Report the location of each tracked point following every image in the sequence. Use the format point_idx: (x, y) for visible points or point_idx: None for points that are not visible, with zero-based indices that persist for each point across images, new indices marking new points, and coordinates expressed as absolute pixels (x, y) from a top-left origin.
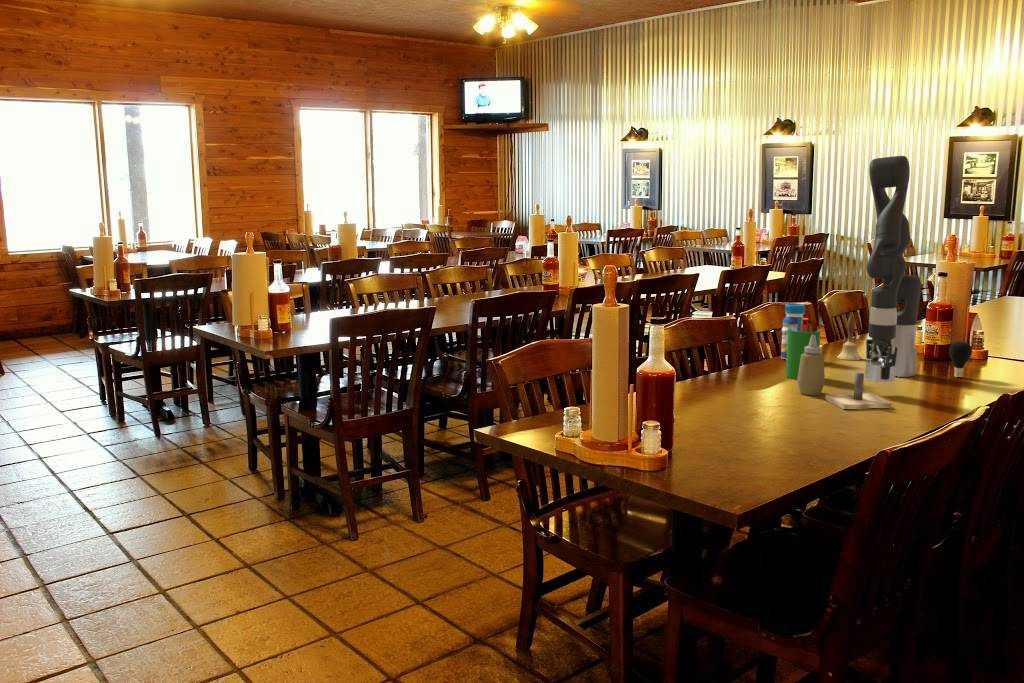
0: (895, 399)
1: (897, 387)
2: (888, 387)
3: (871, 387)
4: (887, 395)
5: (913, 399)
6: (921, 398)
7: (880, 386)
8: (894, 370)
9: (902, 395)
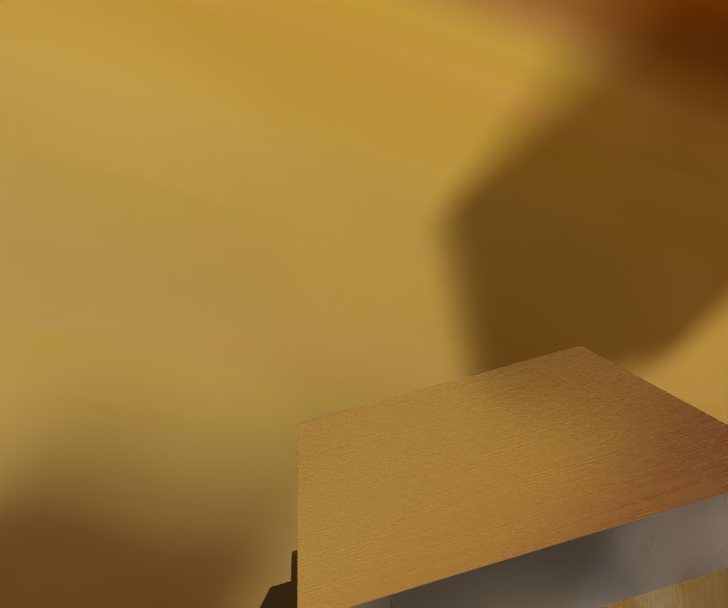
0: (608, 308)
1: (22, 123)
2: (47, 234)
3: (89, 420)
4: (449, 342)
5: (606, 126)
6: (562, 19)
7: (10, 312)
8: (702, 418)
9: (437, 188)
